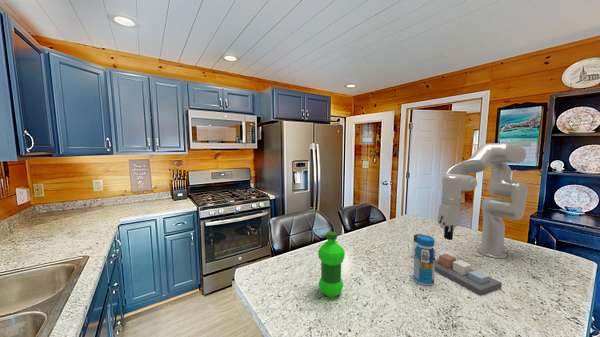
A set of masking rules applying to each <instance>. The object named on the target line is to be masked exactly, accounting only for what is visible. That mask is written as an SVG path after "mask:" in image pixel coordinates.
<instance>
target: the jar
mask: <svg viewBox="0 0 600 337" xmlns="http://www.w3.org/2000/svg"><path fill="white" fill-rule="evenodd" d="M418 235H423V233H422V234H421V233H416V234H414V235H413V240H412V246H411V248H412V249H411V257H412V259H414V254H415V248H416V246H417V245H418V244H417V236H418Z"/></svg>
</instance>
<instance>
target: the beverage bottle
mask: <svg viewBox="0 0 600 337" xmlns="http://www.w3.org/2000/svg"><path fill="white" fill-rule="evenodd" d="M417 244H418V245H417V246H416V248H415V254H414V258H413V276H412V278H413V280H414V281H415V282H416V283H417V284H420V285H423V286H433V285H434V284H435V273H436V272H435V262H436V260H437V258H436V255H437V254H436V250H435V249H434V246H435V238H434V237H433V236H430V235H427V234H422V235H418V236H417Z"/></svg>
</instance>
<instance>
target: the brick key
mask: <svg viewBox="0 0 600 337" xmlns="http://www.w3.org/2000/svg"><path fill="white" fill-rule="evenodd" d="M438 260H439V264H441V265H443V266H444V267H446V268H448V269H450V267H453V262H454V261H457V257H455V256H452V255H450V254H448V253H443V254H439V255H438Z"/></svg>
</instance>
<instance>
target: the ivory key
mask: <svg viewBox="0 0 600 337" xmlns="http://www.w3.org/2000/svg"><path fill="white" fill-rule="evenodd" d="M471 269H472V264H470V263H469V262H466V261H464V260H461V259H458V260H456V261H454V262H453V271H455V272H457V273H458V274H460V275H462V276H465V275H467V274H469V272H471Z"/></svg>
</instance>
